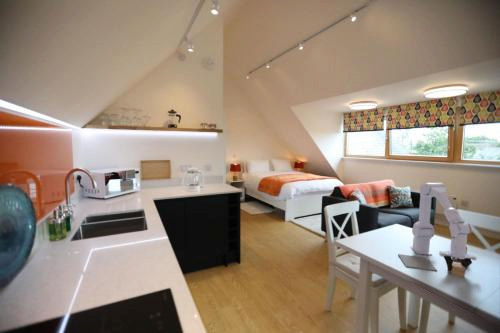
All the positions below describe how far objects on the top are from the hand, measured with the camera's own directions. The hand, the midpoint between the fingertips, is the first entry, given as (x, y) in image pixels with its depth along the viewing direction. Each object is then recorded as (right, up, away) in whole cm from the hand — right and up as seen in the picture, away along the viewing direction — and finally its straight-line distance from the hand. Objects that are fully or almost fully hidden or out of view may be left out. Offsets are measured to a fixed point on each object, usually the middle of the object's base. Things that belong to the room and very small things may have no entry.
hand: (455, 271), depth 119 cm
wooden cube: (0, -1, 0) cm, 1 cm away
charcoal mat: (-12, 0, +11) cm, 17 cm away
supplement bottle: (+14, 0, +14) cm, 19 cm away
